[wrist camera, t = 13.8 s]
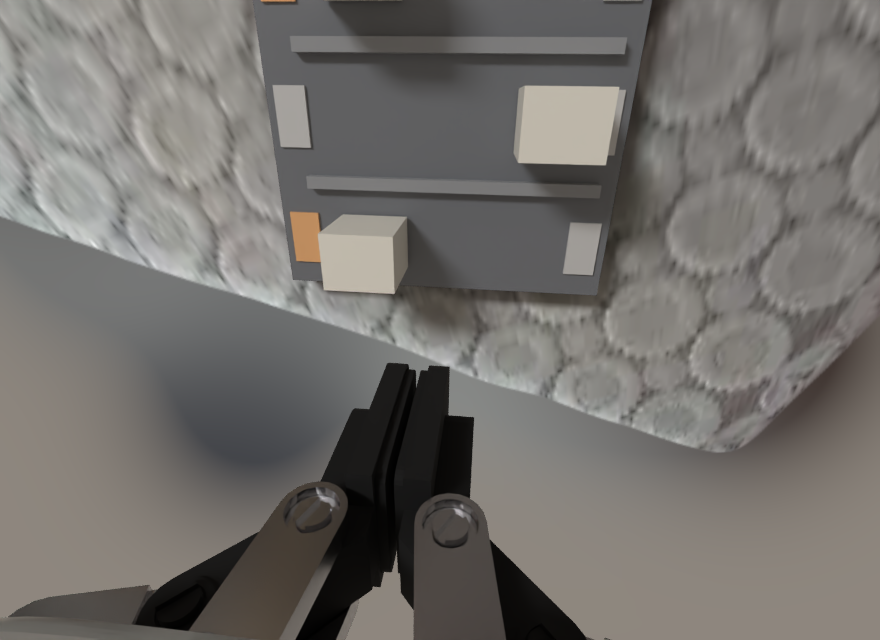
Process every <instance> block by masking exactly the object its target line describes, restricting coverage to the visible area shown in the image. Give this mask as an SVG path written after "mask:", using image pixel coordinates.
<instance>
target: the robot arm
mask: <svg viewBox="0 0 880 640" xmlns="http://www.w3.org/2000/svg"><path fill="white" fill-rule="evenodd" d="M448 408H449V367H444V366H429V368H428V371H424V370H422V371H421V372H420V376H419V380H418V384H417V388H416V371H415V370H410V369H409V366H408V364H398V363H388V364H387V365H386V369H385V370H384V373H383V376H382V378H381V381H380V383H379V386H378V388H377V391H376V393H375V396H374V399H373V401H372V404H371V406H370V409H356V408H355V409H353V411H352V412H351V414H350V416H349V419H348V421H347V423H346V425H345V428H344V430H343V432H342V435H341V437H340V439H339V441H338V443H337V446H336V448H335V450H334V452H333V455H332V457H331V460H330V461H329V464H328V466H327V468H326V470H325V473H324V475H323V477H322V479H321V481H320V482H319V481H318V482H312V483H307V484H304V485H302V486H299V487H297V488H296V489H294V490H293V491H291V492H290V493H288V494H287V495H286V496H285V497H284V499H282V501H281V502H280V503H279V505H278V506H277V507H276V509H275V510H274V512H273V513H272V514H271V516H270V517H269V519H268V520H267V522H266V523H265V524H264V526H263V527H262V528H261V530H260V531H259V532H258V533H256V534H254V535H252V536H250V537H248V538H247V539H245V540H243V541H241V542H239V543H237V544H236V545H234V546H232V547H230V548H228V549H226V550H224V551H223V552H221V553H219V554H217V555H215V556H213V557H212V558H210V559H208V560H206V561H204V562H202V563H201V564H199V565H197V566H195V567H193V568H191V569H189V570H188V571H186V572H184V573H182V574H180V575H178V576H177V577H175V578H173V579H172V580H170V581H169V582H167V583H166V584H164V585H163V586H161V587H160V588H159V589H158V590H152V589H151V587H150V585H145V586H136V587H129V588H120V589H112V590H103V591H95V592H88V593H79V594H70V595H62V596H55V597H48V598H44V599H40V600H37V601H33V602H31V603H30V604H28V605H26V606H24V607H22V608H20V609H18V610H16V611H15V612H14V613H13V614H11V615H10V616H9V617H5V618H0V640H345V639H346V637H347V634H348V632H349V629H350V627H351V624H352V622H353V619H354V617H355V614H356V612H357V608H358V604H359V599H360V598H361V597H362V596H364V595H365V594H367V593H368V592H369V591H371V590H372V587H373V586H374V587H381V582H382V578H383V573H384V572H392V569H393V565H394V561H395V556H396V551H397V560H398V561H397V562H398V573H400V578H401V593H402V595H403V596H404V598H405V599H406V600H407V602H408V603H409V604H410V606H411V607H412V609H413V610H414V640H593V639H590V638H587V637H585V636H584V634H583V633H582V632H581V631H580V629H579V628H578V627H577V626H576V624H575V623H574V622H573V621H572V620H571V619H570V618H569V617H568V616H566V614H565V613H564V612H563V611H562V610H561V609H560V608H559V607H557V605H556V604H555V603H553V602H552V600H551V599H549V598H548V597H547V596H546V595H545V594H544V593H543V592H542V591H541V590H540V589H539V588H538V587H537V586H536V585H535V584H534V583H533V582H532V581H531V580H530V579H529V578H528V577H527V576H526V575H525V574H524V573H523V572H522V571H521V570H520V569H519V568H518V567H517V566H516V565H515V564H514V563H513V562H512V561H511V560H510V559H509V558H508V557H507V556H506V555H505V554H504V553H503V552H502V551H501V550H500V549H499V548H498V547H497V546H496V545H495V544H494V543H493V542H492V541H491V540H490V539H489V533H488V527H487V521H486V518H485V515H484V512H483V511H482V509H481V508H480V507H479V506H478V504H476V503H475V502H474V501H472V500H471V499H470V484H471V465H472V447H473V427H474V418H473V417H462V416H449V415H448ZM604 640H610V639H607V638H604Z"/></svg>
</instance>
